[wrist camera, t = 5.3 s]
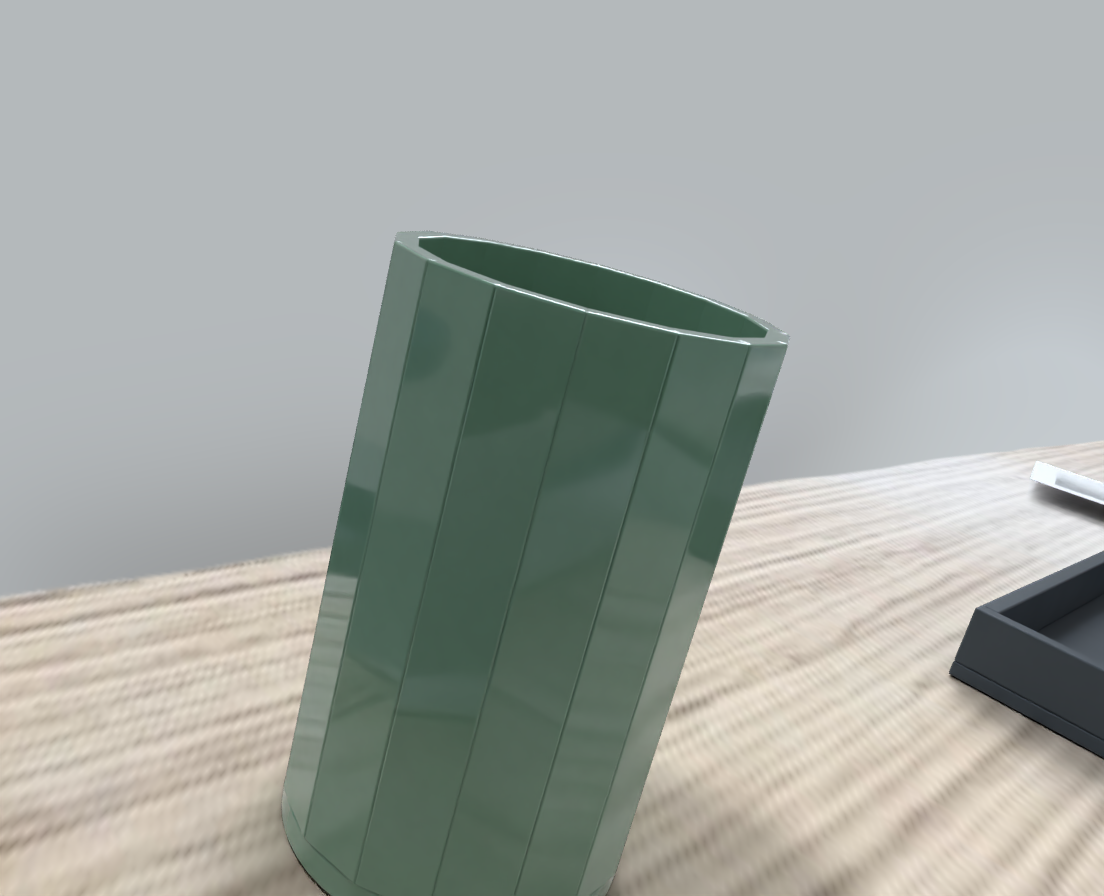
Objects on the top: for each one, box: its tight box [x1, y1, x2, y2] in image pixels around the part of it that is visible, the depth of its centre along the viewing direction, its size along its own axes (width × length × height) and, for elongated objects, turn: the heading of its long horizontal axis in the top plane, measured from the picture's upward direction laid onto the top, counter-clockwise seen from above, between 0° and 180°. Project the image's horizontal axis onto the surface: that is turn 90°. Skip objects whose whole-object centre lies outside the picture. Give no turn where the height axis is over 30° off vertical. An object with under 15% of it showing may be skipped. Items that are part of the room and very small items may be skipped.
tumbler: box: [281, 231, 790, 896], centre depth 18 cm, size 7×7×11 cm
